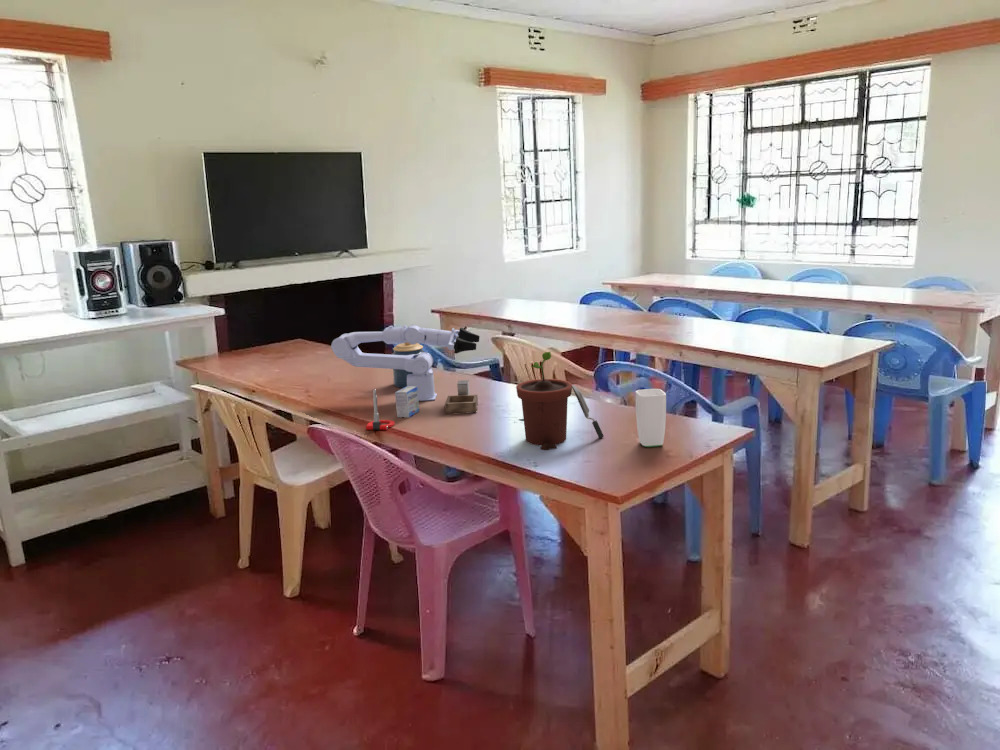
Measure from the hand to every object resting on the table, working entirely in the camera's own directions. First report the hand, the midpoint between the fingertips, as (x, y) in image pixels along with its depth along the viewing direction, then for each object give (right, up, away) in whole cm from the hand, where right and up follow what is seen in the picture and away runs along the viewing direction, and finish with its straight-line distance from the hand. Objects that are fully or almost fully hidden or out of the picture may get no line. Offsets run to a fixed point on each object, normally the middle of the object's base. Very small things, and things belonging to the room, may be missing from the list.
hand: (477, 342), depth 270 cm
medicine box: (-22, -24, -13) cm, 36 cm away
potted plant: (+24, -30, -47) cm, 60 cm away
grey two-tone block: (-5, -20, -1) cm, 21 cm away
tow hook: (-30, -27, -24) cm, 47 cm away
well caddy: (-5, -22, -10) cm, 25 cm away
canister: (-26, -15, +28) cm, 41 cm away
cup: (+49, -30, -54) cm, 80 cm away
